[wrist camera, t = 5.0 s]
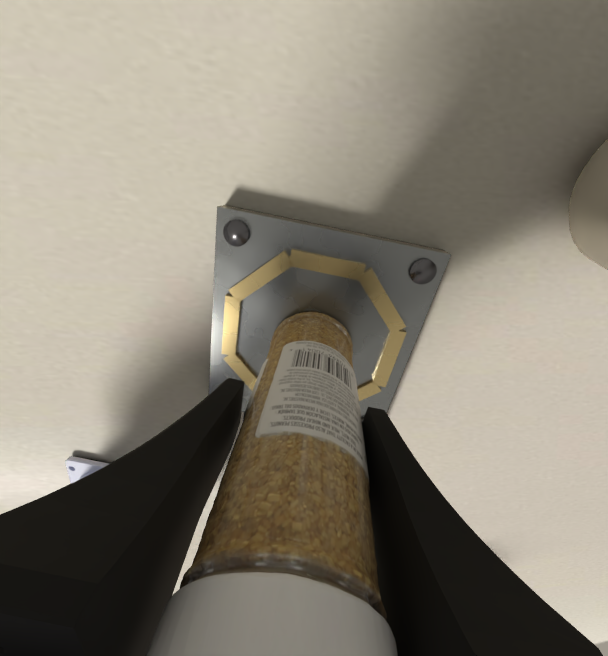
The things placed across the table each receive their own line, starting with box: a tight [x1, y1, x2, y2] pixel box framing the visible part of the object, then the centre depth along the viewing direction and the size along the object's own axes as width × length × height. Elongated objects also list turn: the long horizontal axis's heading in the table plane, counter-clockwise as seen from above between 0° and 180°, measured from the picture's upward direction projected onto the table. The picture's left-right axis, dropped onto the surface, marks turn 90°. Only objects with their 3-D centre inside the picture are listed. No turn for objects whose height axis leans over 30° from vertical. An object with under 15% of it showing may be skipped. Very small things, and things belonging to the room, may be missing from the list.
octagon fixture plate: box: [209, 205, 451, 422], centre depth 17 cm, size 15×11×1 cm
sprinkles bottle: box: [146, 312, 398, 656], centre depth 10 cm, size 5×5×13 cm
